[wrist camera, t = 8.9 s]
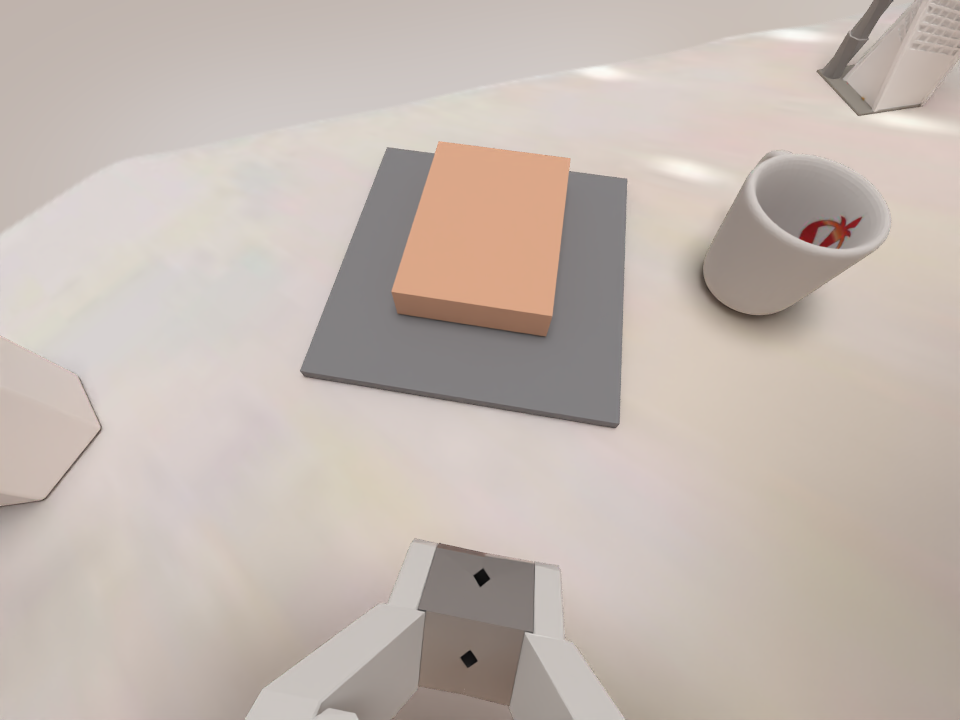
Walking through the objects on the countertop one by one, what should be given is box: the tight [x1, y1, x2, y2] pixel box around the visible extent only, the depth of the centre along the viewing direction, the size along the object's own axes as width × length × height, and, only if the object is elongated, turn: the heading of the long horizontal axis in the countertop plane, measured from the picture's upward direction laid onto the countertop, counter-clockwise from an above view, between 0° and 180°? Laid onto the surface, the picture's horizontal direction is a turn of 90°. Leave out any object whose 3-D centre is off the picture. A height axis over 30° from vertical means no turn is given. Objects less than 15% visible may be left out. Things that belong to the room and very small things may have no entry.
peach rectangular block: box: [391, 141, 570, 336], centre depth 31 cm, size 10×3×14 cm
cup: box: [703, 150, 891, 315], centre depth 29 cm, size 11×8×8 cm
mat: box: [300, 147, 627, 428], centre depth 32 cm, size 20×21×1 cm
